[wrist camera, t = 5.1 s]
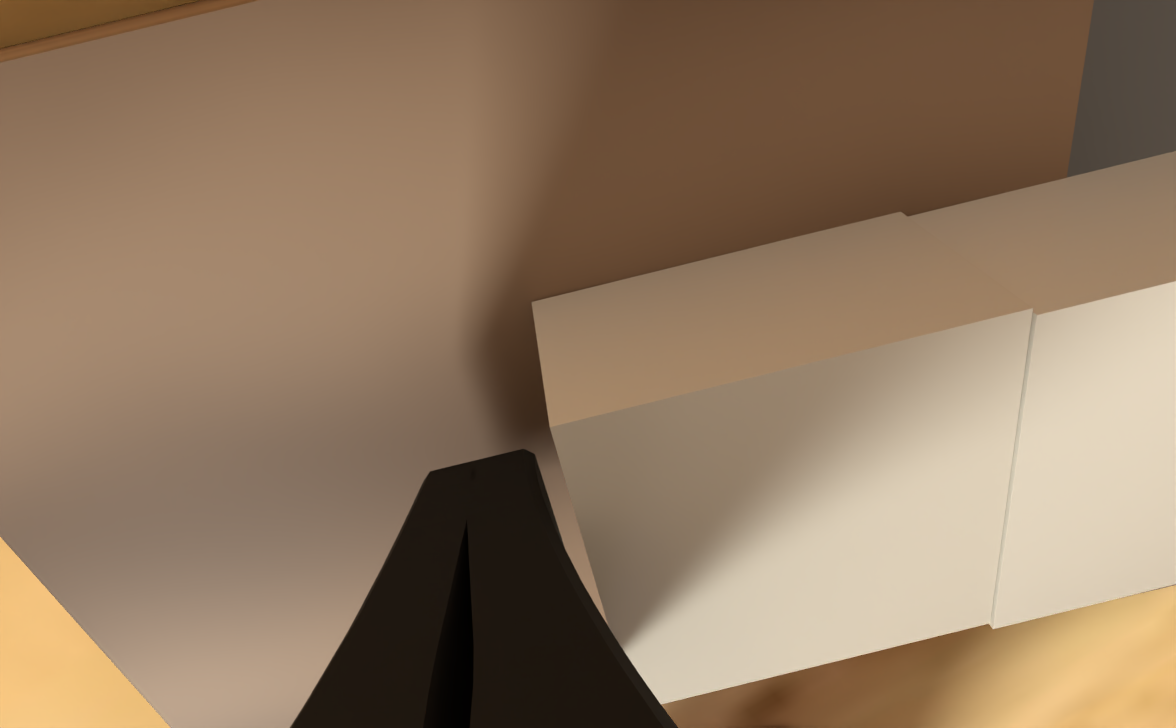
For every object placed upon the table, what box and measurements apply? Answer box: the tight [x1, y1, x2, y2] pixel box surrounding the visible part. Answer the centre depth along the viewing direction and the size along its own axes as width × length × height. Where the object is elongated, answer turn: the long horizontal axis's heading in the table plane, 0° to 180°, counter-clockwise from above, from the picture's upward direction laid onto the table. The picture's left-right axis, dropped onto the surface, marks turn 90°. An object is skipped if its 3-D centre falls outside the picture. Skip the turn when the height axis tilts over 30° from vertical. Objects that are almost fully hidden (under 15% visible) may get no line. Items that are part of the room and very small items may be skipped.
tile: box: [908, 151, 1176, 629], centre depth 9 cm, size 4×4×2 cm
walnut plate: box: [0, 0, 1094, 728], centre depth 11 cm, size 12×14×3 cm
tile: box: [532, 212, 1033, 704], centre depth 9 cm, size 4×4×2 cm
